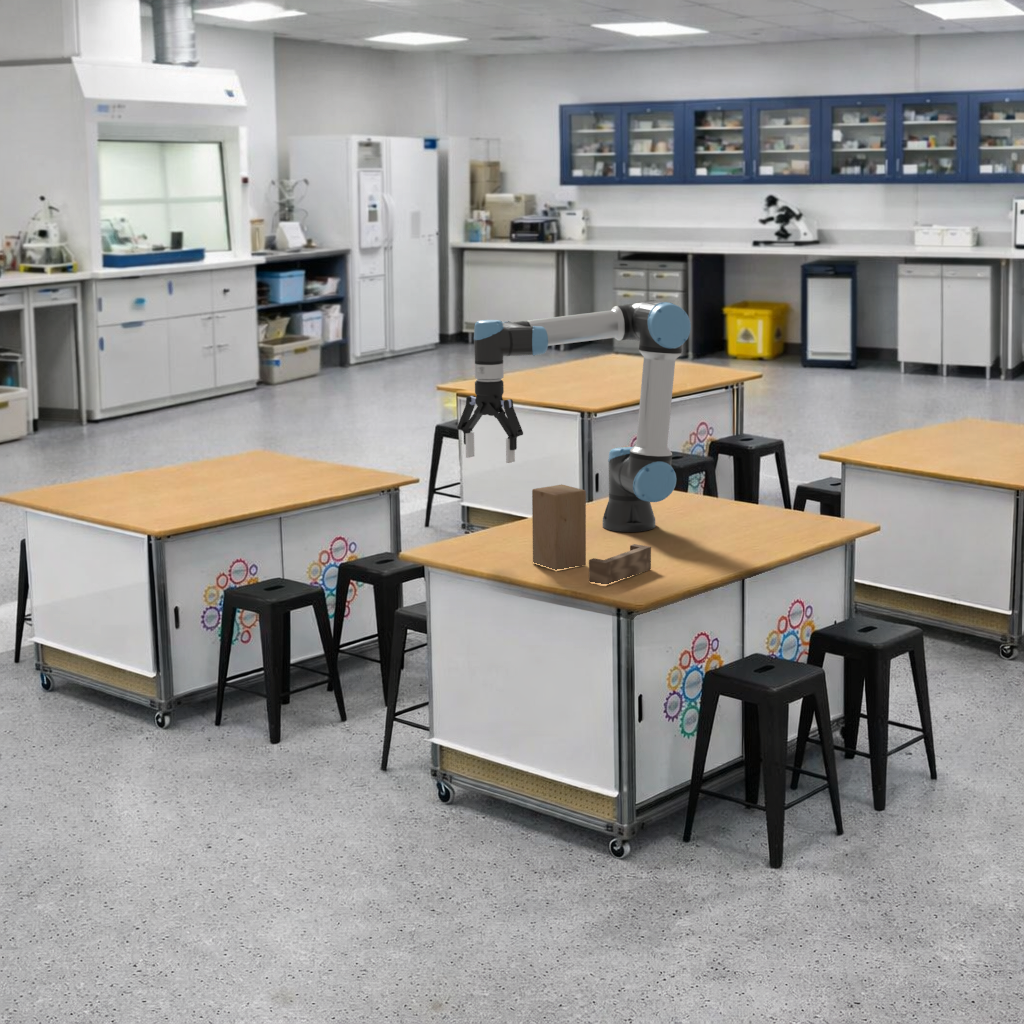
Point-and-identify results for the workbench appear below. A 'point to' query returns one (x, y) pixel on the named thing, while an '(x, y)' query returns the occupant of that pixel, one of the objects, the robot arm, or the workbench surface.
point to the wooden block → (559, 526)
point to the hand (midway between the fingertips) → (490, 459)
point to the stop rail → (620, 565)
